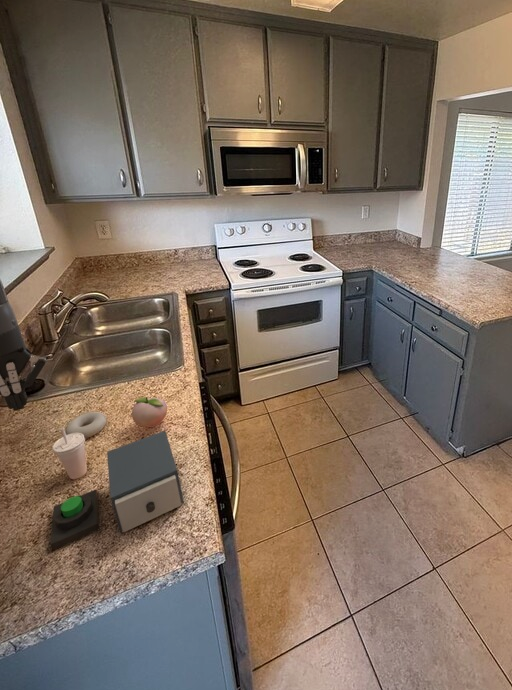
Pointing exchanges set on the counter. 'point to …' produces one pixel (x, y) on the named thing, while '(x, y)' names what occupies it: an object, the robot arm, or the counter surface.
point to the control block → (75, 521)
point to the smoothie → (71, 453)
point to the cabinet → (140, 466)
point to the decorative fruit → (149, 411)
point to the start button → (72, 506)
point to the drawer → (148, 503)
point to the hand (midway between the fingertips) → (19, 407)
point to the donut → (91, 418)
